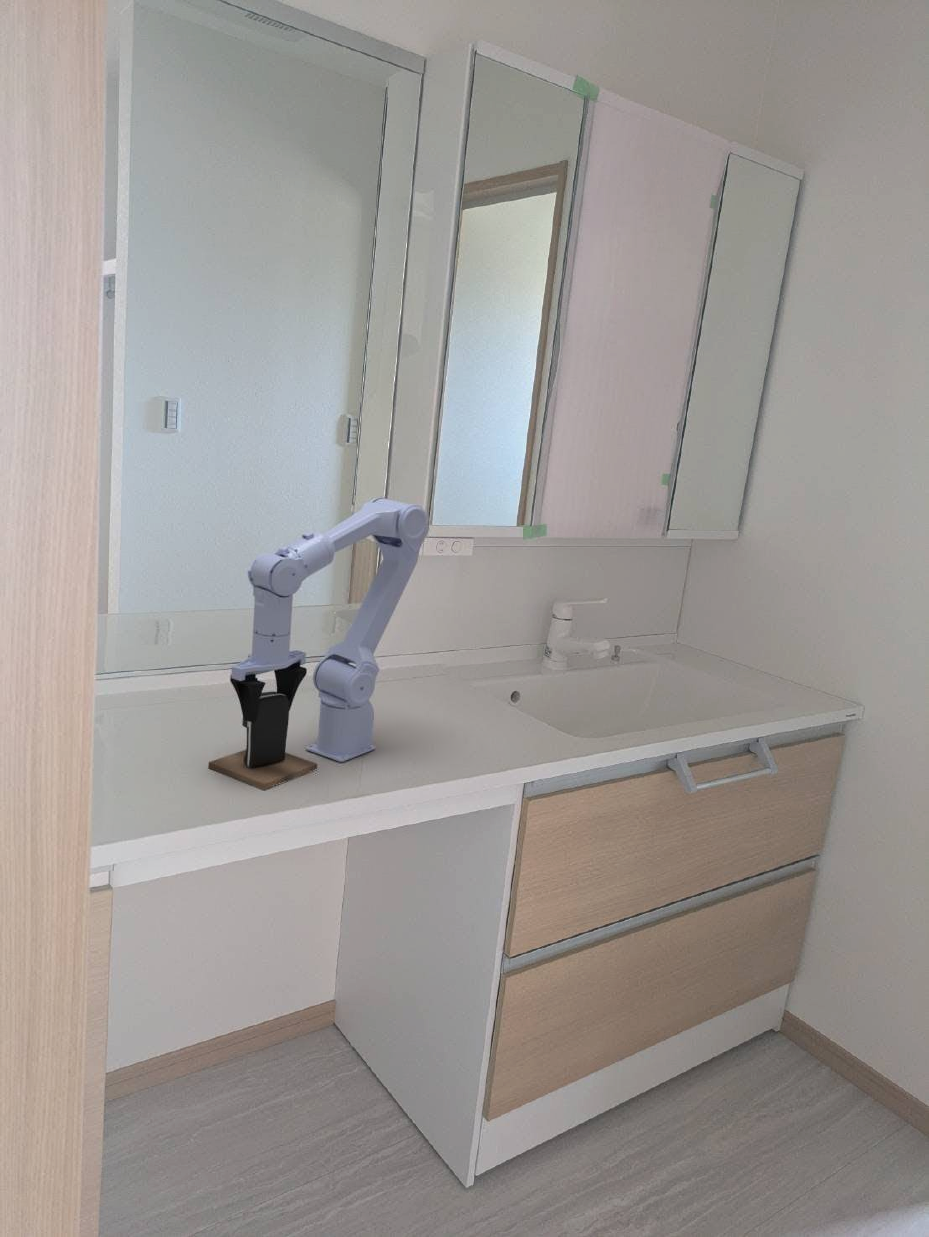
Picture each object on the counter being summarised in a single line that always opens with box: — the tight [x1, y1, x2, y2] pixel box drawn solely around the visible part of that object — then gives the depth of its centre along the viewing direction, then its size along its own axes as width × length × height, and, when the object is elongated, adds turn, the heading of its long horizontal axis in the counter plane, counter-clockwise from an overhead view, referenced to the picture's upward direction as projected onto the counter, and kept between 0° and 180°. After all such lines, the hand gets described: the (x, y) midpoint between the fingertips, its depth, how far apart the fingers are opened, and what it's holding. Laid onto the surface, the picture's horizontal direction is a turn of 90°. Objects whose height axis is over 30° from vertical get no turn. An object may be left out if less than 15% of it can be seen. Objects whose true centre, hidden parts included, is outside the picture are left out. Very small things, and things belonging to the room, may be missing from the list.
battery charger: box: [242, 691, 290, 767], centre depth 157 cm, size 7×4×11 cm, turn 136°
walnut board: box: [208, 749, 318, 790], centre depth 158 cm, size 12×12×1 cm
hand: (266, 715), depth 156 cm, fingers open, 7 cm apart
